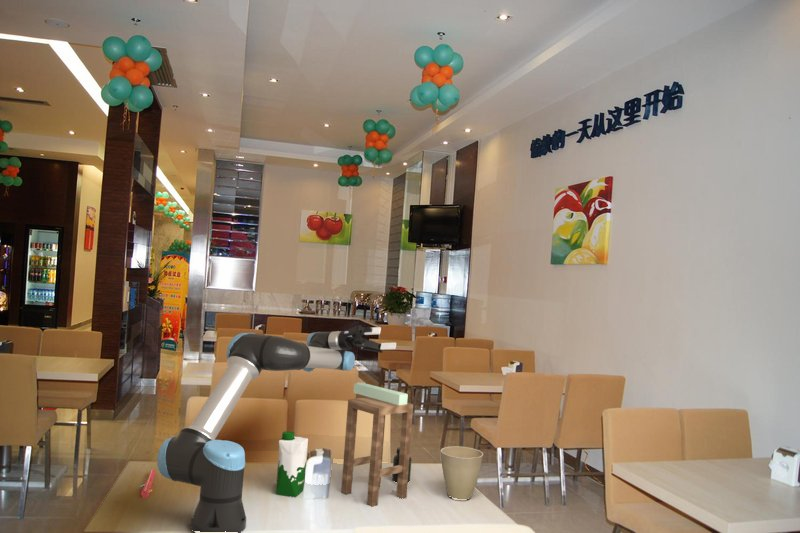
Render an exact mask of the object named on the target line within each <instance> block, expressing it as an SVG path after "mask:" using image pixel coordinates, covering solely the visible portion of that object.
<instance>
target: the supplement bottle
mask: <svg viewBox="0 0 800 533" xmlns="http://www.w3.org/2000/svg"><path fill="white" fill-rule="evenodd" d="M399 453H400V446H399V447H397V448H396V454H395V455H394V456H393V459H392V466H397V465H399ZM412 461H413V459H412V457H411V456H410V457H409V471H408V482H409V481H410V482H411V476H412V475H411V474H412V463H413V462H412ZM391 475H392V477H391V480H392V482H393V481H395V482H397V481H398V473H396V474H391ZM395 482H394V483H395ZM410 482H409V483H410Z"/></svg>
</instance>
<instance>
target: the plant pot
mask: <svg viewBox="0 0 800 533" xmlns="http://www.w3.org/2000/svg"><path fill="white" fill-rule="evenodd" d="M483 457H484V452H482V451H481V450H479V449H476V448H473V447H468V446H445V447H443V448H441V449H440V459H441V468H442V473H443V479H444V483H445V487H446V491H447V494H448V497H449V496H451V497H453V498H457V499H468V498H470V499H471V497H472V495H473V493H474V490H475V487H476V485H477V481H478V479H479V474H480V472H481V467H482V462H483Z"/></svg>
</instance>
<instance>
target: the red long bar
mask: <svg viewBox="0 0 800 533" xmlns="http://www.w3.org/2000/svg"><path fill="white" fill-rule="evenodd" d="M155 476H156V470H155V469H151V470H150V472H149V475H148V478H147V480H146V481H145V483H143V484H141V485H140V486H139V487H140V488H142V487H143V486H144V487H143V489H142V491H141V493H140V494H141V497H142V498H141V499H147V498H149V495H150V493H151V492H152V491H153V488H152V486H153V483H154V482H153V481H154V478H155Z"/></svg>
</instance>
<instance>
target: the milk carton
mask: <svg viewBox="0 0 800 533" xmlns="http://www.w3.org/2000/svg"><path fill="white" fill-rule="evenodd" d="M281 436H282V437H281V438H280V439H279V440H278V460H277V461H278V463H277V475H276V487H275V488H276V490H275V495H276V494H277V496H284V497H290V496H291V498H297V497H298V496H299V495H300V494H301V493H303V492H304V487H305V479H306V470H307V457H308V455H307V454H308V445H309V444H308V443H309V438H307V437H302V436H295V432H294V431H290V430H289V431H288V430H286V431H283V432H282V434H281Z"/></svg>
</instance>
